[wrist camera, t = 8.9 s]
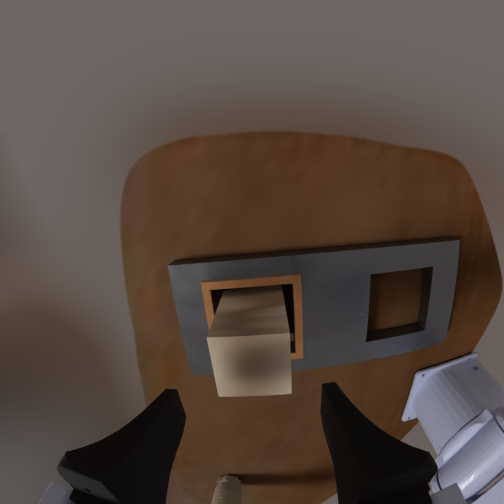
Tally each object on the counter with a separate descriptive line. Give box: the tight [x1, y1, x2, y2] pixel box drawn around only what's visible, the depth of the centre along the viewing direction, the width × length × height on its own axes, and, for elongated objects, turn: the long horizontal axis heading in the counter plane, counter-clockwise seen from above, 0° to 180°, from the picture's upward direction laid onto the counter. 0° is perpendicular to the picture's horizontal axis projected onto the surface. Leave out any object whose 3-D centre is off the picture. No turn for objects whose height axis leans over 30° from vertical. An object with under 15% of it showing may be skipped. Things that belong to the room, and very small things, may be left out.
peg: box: [207, 285, 292, 397], centre depth 19 cm, size 4×4×8 cm
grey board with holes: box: [168, 237, 460, 375], centre depth 21 cm, size 24×10×2 cm, turn 96°
